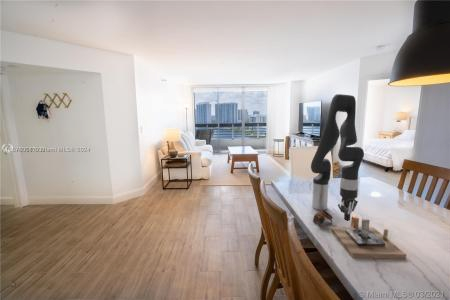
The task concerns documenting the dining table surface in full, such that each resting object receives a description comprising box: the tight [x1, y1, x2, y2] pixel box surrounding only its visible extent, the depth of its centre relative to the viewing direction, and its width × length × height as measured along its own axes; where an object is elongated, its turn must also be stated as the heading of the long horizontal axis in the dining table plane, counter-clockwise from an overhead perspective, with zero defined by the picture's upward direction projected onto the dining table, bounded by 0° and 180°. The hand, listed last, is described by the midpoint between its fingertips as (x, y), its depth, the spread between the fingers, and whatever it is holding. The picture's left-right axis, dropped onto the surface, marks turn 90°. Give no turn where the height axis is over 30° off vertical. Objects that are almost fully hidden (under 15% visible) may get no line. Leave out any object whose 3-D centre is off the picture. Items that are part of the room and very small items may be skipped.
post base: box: [330, 217, 407, 260], centre depth 100 cm, size 22×22×12 cm
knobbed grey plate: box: [346, 215, 385, 246], centre depth 102 cm, size 16×12×7 cm
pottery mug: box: [312, 210, 334, 226], centre depth 119 cm, size 12×10×8 cm
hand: (347, 220), depth 105 cm, fingers closed
